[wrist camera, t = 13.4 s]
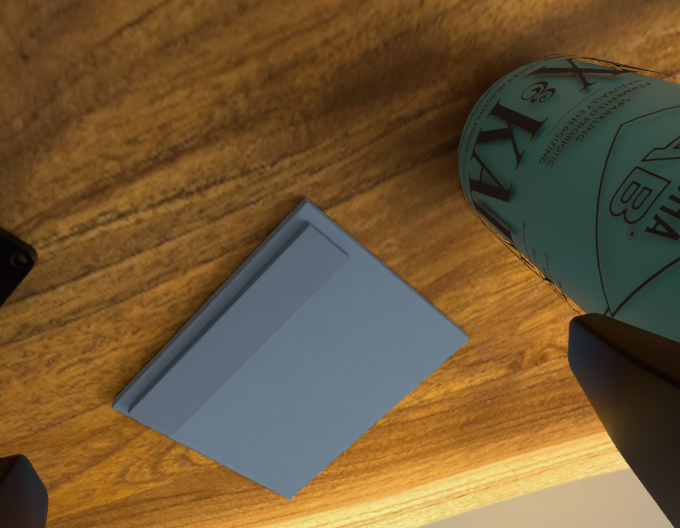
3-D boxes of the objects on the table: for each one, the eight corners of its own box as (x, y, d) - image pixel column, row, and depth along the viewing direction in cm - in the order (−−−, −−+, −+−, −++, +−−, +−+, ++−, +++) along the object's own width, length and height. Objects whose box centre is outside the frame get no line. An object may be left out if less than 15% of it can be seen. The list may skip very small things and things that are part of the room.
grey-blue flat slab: (288, 490, 28) (290, 509, 27) (113, 398, 24) (108, 416, 23) (465, 331, 26) (474, 346, 25) (305, 196, 21) (308, 207, 20)
